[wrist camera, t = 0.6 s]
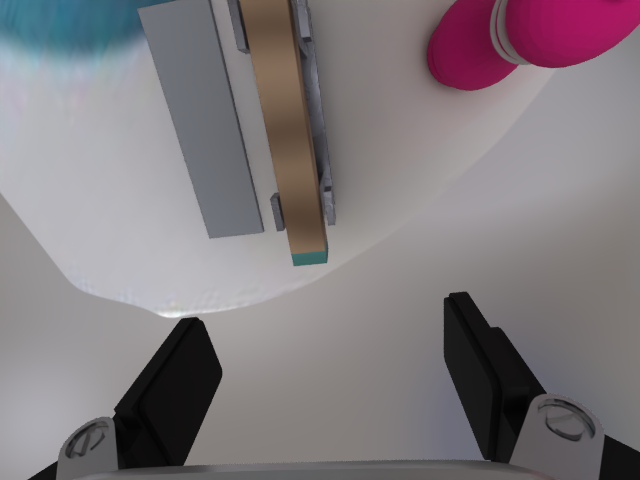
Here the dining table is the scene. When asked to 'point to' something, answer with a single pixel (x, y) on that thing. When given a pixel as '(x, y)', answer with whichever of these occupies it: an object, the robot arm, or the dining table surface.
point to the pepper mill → (523, 36)
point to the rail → (287, 124)
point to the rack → (312, 99)
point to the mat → (203, 113)
